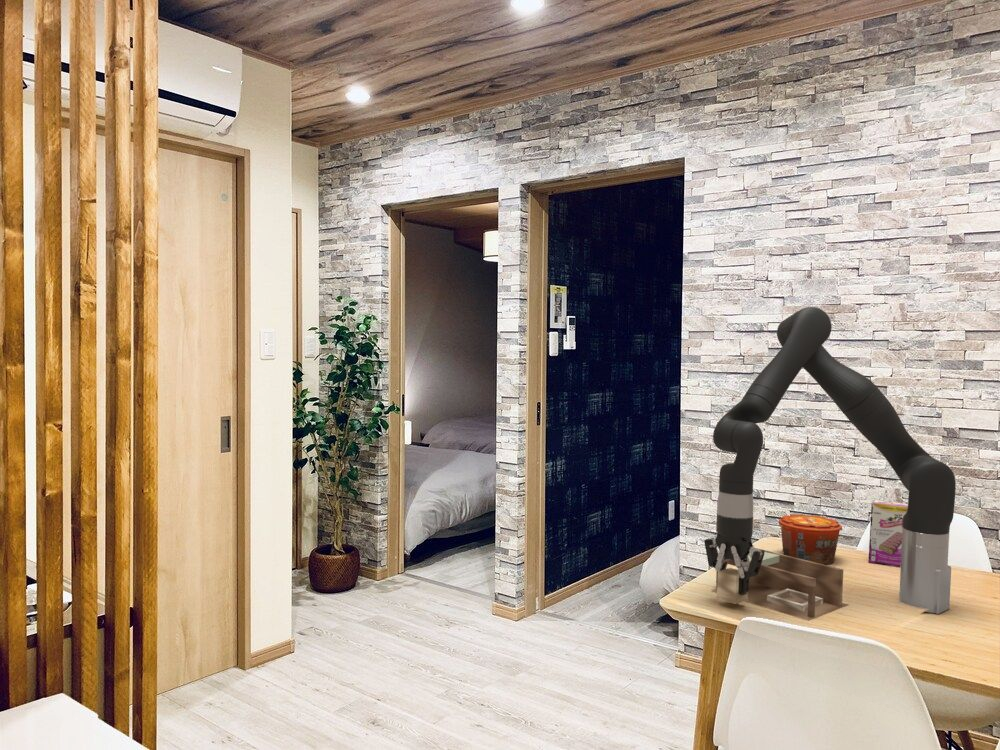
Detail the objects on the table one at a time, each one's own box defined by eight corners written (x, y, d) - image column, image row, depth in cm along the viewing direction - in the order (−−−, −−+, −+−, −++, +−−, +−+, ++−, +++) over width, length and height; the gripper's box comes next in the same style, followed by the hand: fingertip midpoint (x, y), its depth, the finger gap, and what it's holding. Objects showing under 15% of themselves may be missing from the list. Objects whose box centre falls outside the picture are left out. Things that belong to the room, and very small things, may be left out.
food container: (853, 566, 210) (855, 525, 210) (799, 568, 206) (801, 527, 206) (816, 550, 226) (817, 512, 225) (765, 552, 222) (767, 514, 221)
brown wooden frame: (848, 609, 175) (850, 568, 175) (808, 625, 164) (810, 581, 164) (752, 582, 193) (753, 544, 193) (710, 595, 183) (711, 555, 182)
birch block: (747, 600, 172) (748, 572, 172) (735, 604, 169) (736, 576, 169) (729, 594, 176) (730, 567, 176) (716, 598, 173) (717, 571, 173)
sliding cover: (779, 562, 184) (779, 546, 184) (754, 569, 178) (755, 553, 177) (741, 552, 192) (742, 537, 192) (716, 559, 185) (717, 543, 185)
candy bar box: (867, 563, 213) (870, 502, 213) (870, 558, 218) (872, 499, 217) (915, 569, 208) (917, 507, 207) (916, 565, 212) (918, 504, 211)
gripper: (774, 516, 169) (771, 596, 169) (717, 505, 180) (714, 580, 180) (754, 521, 164) (751, 603, 165) (696, 509, 175) (694, 586, 176)
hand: (732, 590), depth 172 cm, fingers closed on birch block, 4 cm apart
